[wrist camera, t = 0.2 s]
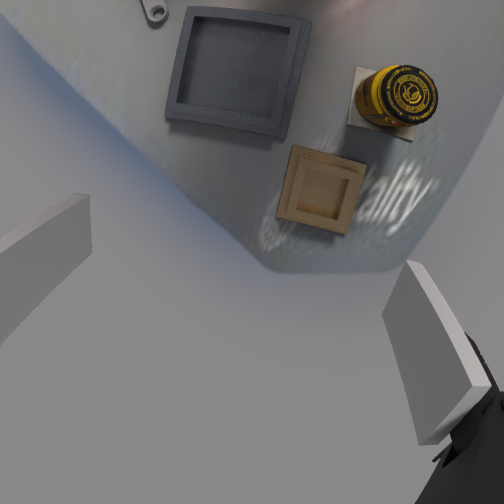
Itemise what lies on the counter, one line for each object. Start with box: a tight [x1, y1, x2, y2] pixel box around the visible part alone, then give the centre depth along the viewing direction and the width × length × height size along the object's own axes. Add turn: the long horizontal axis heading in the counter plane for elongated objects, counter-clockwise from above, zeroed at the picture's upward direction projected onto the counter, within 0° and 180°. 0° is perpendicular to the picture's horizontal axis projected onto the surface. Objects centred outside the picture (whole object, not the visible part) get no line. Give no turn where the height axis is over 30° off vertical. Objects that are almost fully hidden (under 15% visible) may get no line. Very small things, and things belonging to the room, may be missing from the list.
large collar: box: [164, 6, 312, 139], centre depth 32 cm, size 15×15×3 cm
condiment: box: [347, 65, 438, 141], centre depth 27 cm, size 7×8×12 cm
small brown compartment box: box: [276, 145, 367, 234], centre depth 37 cm, size 9×9×3 cm
